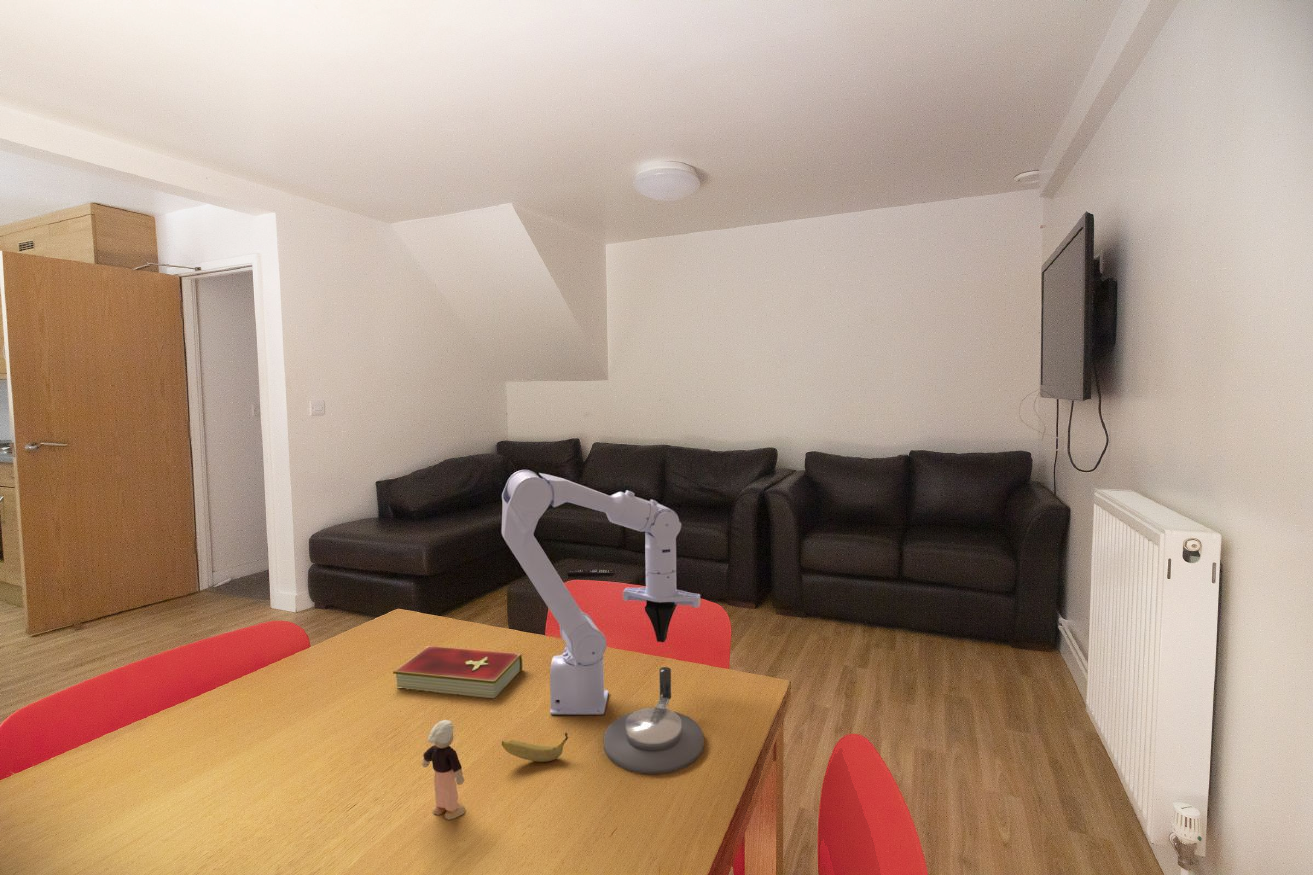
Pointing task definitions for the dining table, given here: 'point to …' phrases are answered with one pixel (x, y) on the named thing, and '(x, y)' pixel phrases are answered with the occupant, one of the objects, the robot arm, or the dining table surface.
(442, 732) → the grandmother figurine
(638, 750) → the dial base
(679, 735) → the dial
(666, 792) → the dining table surface
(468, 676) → the hardcover book
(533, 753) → the banana
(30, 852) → the dining table surface
